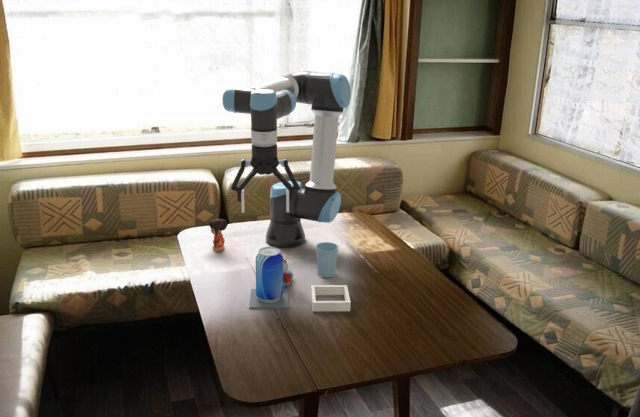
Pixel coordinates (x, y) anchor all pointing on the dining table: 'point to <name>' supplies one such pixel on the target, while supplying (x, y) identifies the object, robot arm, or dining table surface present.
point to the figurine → (218, 233)
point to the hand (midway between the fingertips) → (265, 211)
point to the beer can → (269, 275)
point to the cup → (326, 258)
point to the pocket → (330, 304)
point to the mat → (258, 304)
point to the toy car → (286, 274)
